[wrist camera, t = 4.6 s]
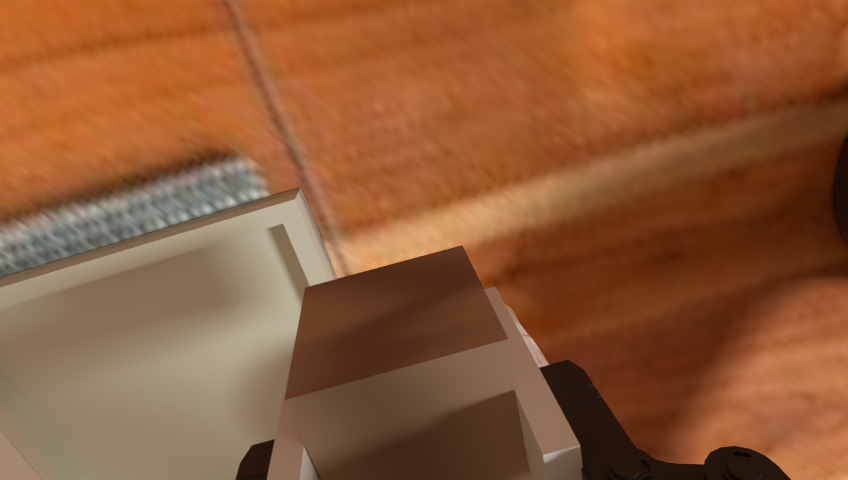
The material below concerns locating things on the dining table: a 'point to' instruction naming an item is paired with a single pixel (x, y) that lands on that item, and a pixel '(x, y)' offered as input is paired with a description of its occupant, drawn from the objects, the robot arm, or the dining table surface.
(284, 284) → the tray
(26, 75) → the dining table surface
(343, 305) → the walnut block
